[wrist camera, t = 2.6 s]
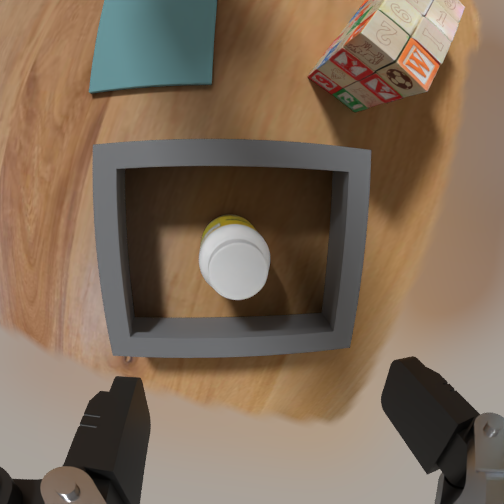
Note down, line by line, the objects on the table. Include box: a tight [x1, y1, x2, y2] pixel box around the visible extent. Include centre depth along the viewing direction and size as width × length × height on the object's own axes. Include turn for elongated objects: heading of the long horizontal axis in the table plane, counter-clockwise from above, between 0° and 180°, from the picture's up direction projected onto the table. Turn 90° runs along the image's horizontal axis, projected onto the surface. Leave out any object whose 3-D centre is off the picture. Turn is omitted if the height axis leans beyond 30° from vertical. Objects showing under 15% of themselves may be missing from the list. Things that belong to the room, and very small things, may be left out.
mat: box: [89, 0, 217, 94], centre depth 23 cm, size 12×12×1 cm
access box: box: [93, 139, 371, 358], centre depth 27 cm, size 22×18×6 cm
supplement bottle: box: [199, 214, 270, 300], centre depth 25 cm, size 5×5×10 cm
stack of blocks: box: [308, 0, 465, 112], centre depth 20 cm, size 21×6×12 cm, turn 148°
